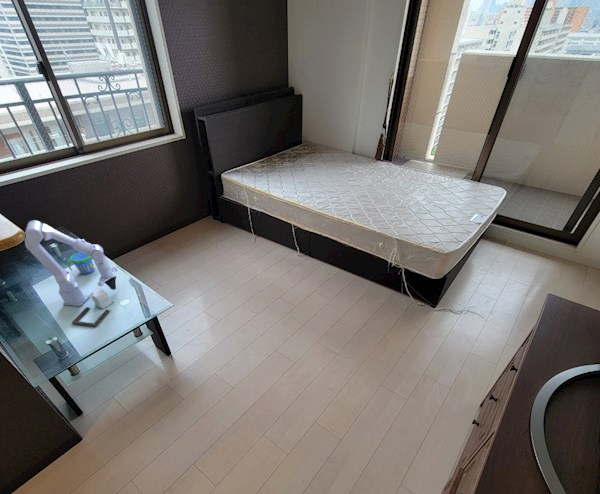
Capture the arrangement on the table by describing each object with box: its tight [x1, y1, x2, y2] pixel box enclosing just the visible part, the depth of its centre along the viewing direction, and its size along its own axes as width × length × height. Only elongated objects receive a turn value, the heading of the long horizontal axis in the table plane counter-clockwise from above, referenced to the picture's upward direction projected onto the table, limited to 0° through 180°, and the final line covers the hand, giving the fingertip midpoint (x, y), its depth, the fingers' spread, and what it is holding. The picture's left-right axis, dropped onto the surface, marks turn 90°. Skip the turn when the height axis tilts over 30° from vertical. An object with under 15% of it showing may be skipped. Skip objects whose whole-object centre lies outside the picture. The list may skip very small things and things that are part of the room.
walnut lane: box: [71, 306, 110, 328], centre depth 170 cm, size 12×12×1 cm
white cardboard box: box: [89, 288, 113, 310], centre depth 176 cm, size 6×6×7 cm
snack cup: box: [67, 251, 95, 275], centre depth 197 cm, size 16×10×10 cm
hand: (113, 288), depth 185 cm, fingers closed
